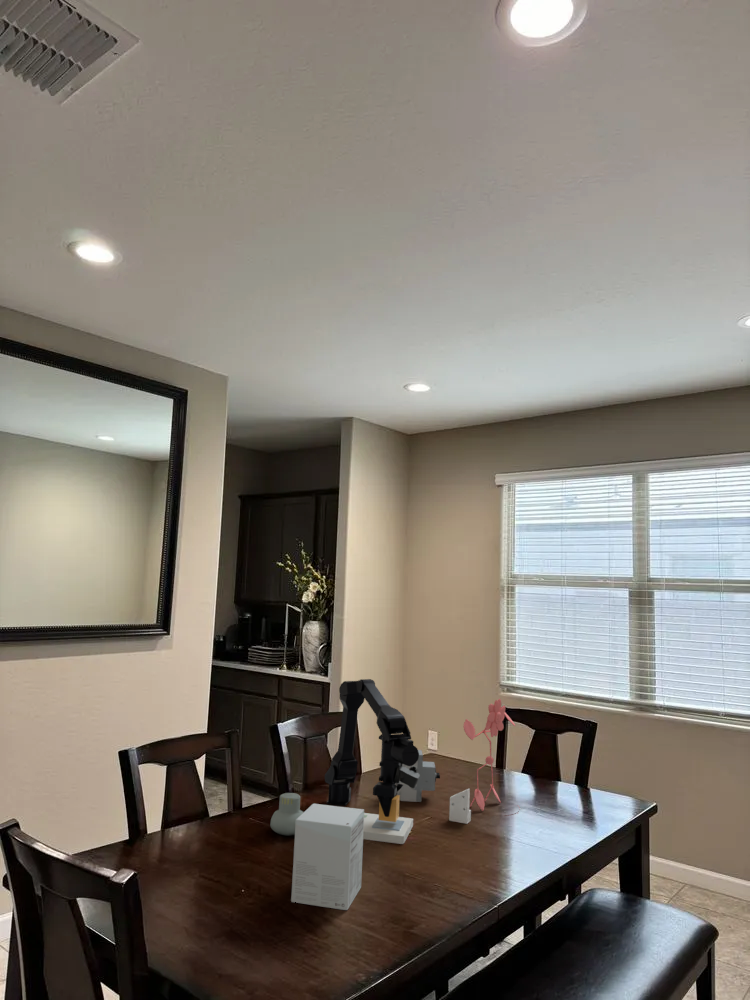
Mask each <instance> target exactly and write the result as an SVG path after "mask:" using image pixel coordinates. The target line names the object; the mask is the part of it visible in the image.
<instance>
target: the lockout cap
mask: <svg viewBox="0 0 750 1000" xmlns="http://www.w3.org/2000/svg"><path fill="white" fill-rule="evenodd" d="M400 801H401V800H400V795H396V796H395V797H394V798H393V799H392V804H391V809H390V813H389V817H385V815H384V812H383V810H382V807H381V804H380V802H379V801H378V805H379V806H378V815H379V820H382V821H390V822H396V821H397V819H398V817H400Z"/></svg>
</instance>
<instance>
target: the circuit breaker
mask: <svg viewBox="0 0 750 1000" xmlns="http://www.w3.org/2000/svg"><path fill="white" fill-rule="evenodd" d="M418 752H419V758H418V760H417V762H416V763H415V764H414V765H413V766H415V767H417V771H418V773H419V775H420V776H419V779H418V782H417V784H416V786H415V788H411V787H409V786H408V785H406V784H404V783H402V782H401V781H399V783H398V784H402V785H403V786H402V788H401V789H400V790H399V791H398V792H397V793H398V794H397V795H400V800H399V801H401V802H415V803H417V802H419V803H422V793H423V792H422V791H426V792H427V791H432V792H434V791H436V781H437V779H441V774H440V772H437V769H436V765H435V761H425V760H423V759H424V755H423V750H422V749H418ZM403 767H405V768H408V769H409V768H411V767H412V766H407V765H404V764H403Z"/></svg>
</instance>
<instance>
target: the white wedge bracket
mask: <svg viewBox="0 0 750 1000" xmlns="http://www.w3.org/2000/svg"><path fill="white" fill-rule="evenodd" d="M470 791H471V789H470V788H466V789H465V790H463V791H460V792H457V793H455V794H454V795H451V796H450V797H449V816H448V817H449V819H448V820H449V821H450V822H456V823H461V824H466V825H468V823H470V822H471V820H472V819H471V818H472V809H470V802H471V801H470V798H471V796H470V795H471V794H470V793H471V792H470ZM449 821H448V822H449Z"/></svg>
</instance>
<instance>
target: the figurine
mask: <svg viewBox="0 0 750 1000" xmlns="http://www.w3.org/2000/svg"><path fill="white" fill-rule="evenodd" d="M488 712H489V714H488V715H487V717H486V719H487V720H486V723H485V727H484V729H483V730H481V731H480V732H479V733H477V734H476V728H475V726H474V724H473V722H471V721H470V720H468V718H467V719H465V721H464V722H463V731H464V732H465V735H466V736H467V737H468V738H469V739H470V740H471V741H473V740H474V739H475V738H476V737H478V736H479V735H481V734H484V735H485V737H486V738H487V741H488V742H489V755H488V756H486V757H485V759H484V760H485V764H483V765H482V766H480V767H479V768H477V769H476V779H477V780H476V781H477V782H476V784H477V785H476V786H477V788H475V790H474V792H473V795H474V797H473V799H472V801H470V803H469V808H471V807H472V806H473V804H474V801H475V802H476V804H477V806H478V807H479V809H480V811H482V812H483V811H484V810H485V807H486V806H485V802H486V801H487V800H488V798H489V796H490V794H491V791H492V792H493V794H494V796H495V798H496V800H497V801H498V802H499V803H500V804H501V803H502V802H501V800H500V797H499V795H498V793H497V791H496V790H495V786H494V774H493V773H494V771H493V764H494V762H495V761H494V758H493V757H492V741H491V739H490V737H491V738H494V737H497V736H498V734H499V731H500V732H501V731H503V730H504V728H505V727H504V719H505V718H506V719H507V720H508V722H510V724H512V725H513V726H514V727H516V724H515V722H514V721H513V720H512V718H511V717H510V716H509V715H508V714H507V712H506V705H503V706H502V700H501V698H498V699H495V701H494V704H493V703H489V705H488ZM487 733H490V737H489V736H488V735H487ZM486 765H488V766H489V765H491V767H490V768H491V769H490V770H491V783H490V784H489V786H490V789H489V790H488V792H487V794H486V796H485V798H484V795H483V793H482V792H481V790H480V789H479V770H481V769H482V768H483V767H485V766H486ZM518 807H519V809H520V806H518ZM519 812H520V810H518V811H517V812H514V813H512V814H507V815H506V814H505V815H504V817H507V816H512V815H513V816H514V815H515V814H517V815H518V814H519Z"/></svg>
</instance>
